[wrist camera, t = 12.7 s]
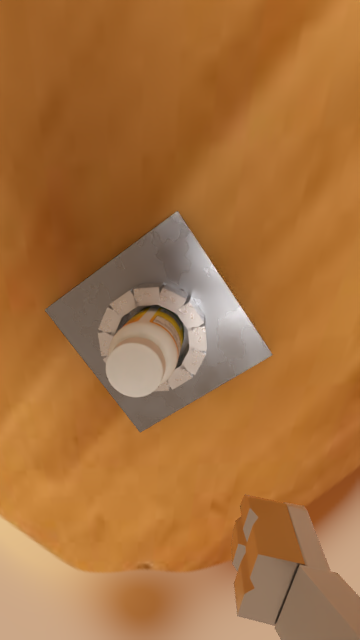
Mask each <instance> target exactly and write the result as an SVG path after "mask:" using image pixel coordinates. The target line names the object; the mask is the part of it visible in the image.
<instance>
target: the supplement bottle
mask: <svg viewBox="0 0 360 640" xmlns="http://www.w3.org/2000/svg"><path fill="white" fill-rule="evenodd" d="M183 339H184V328H183V325H182V322H181V320H180V319H179V317H178V316H177V315H176V314H175V313H174V312H172V311H170V310H168V309H166V308H164V307H162V306H149V307H146V308H144V309H142V310H140V311H139V312H138V313H136V314H135V315H134V316H133V317H132V318H131V319H130V320H129V321H128V322H127V323H126V324H125V325H124V326H123V327H122V328H121V329H120V330H119V331H118V332H117V333H116V334H115V335H114V337H113V339H112V341H111V343H110V346H109V356H108V359H107V361H106V375H107V378H108V380H109V382H110V384H111V385H112V386H113V387H114V388H115V389H116V390H117V391H118V392H120V393H121V394H123V395H126V396H129V397H143V396H146V395H149V394H151V393H152V392H154V391H155V390H156V389H157V388H158V386H159V385H161V384H162V383H164V382H165V381H167V380H168V379H169V378H170V376H171V375H172V374H173V372H174V370H175V368H176V365H177V362H178V358H179V354H180V350H181V347H182V343H183Z"/></svg>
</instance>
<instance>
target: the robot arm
mask: <svg viewBox="0 0 360 640" xmlns="http://www.w3.org/2000/svg"><path fill="white" fill-rule="evenodd" d="M240 510H241V517H240V518H238V519H237V520H236V521H235V525H234V529H233V535H232V564H233V565H234V567H235V568H236V570H237V571H238V573H237V576H236V579H235V582H234V587H235V598H236V608H237V616H239V617H243V618H247V619H251V620H255V621H259V622H263V623H266V624H270V625H274V626H275V629H276V631H277V633H278V635H279V637H280V639H281V640H360V597H359V596H358V595H357V594H356V593H355V592H354V591H353V589H352V588H351V587H350V586H349V585H348V584H347V583H346V582H345V581H344V580H343V579H342V578H341V576H340V575H339V574H338V573H335V572H331V571H330V568H329V566H328V563H327V560H326V558H325V555H324V553H323V550H322V548H321V545H320V543H319V540H318V537H317V535H316V532H315V530H314V527H313V525H312V522H311V519H310V517H309V514H308V512H307V510H306V508H305V507H304V506H301V505H296V504H290V503H285V502H284V503H282V502H279V501H274V500H269V499H264V498H259V497H255V496H250V495H244V497H243V499H242V502H241V505H240Z"/></svg>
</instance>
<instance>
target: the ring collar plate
mask: <svg viewBox="0 0 360 640" xmlns="http://www.w3.org/2000/svg"><path fill="white" fill-rule="evenodd" d="M149 306H162V307H164V308H166V309H168V310H170V311H172V312H174V313H175V314H176V315H177V316H178V317H179V319H180V320H181V322H182V325H183V328H184V339H183V343H182V347H181V350H180V354H179V358H178V362H177V365H176V368H175V370H174V372H173V374H172V375H171V376H170V378H169V379H168V380H167V381H165V382H164V383H162V384H161V385H159V386H158V388H157V389H156V390H155V391H154V392H152V393H151V394H149V395H146V396H143V397H129V396H126V395H123V394H121V393H120V392H118V391H117V390H116V389H115V388H114V387H113V386H112V385H111V384H110V382H109V380H108V378H107V375H106V361H107V359H108V356H109V346H110V343H111V341H112V339H113V337H114V335H115V334H116V333H117V332H118V331H119V330H120V329H121V328H122V327H123V326H124V325H125V324H126V323H127V322H128V321H129V320H130V319H131V318H132V317H133V316H134V315H135V314H136V313H138V312H139V311H140V310H142V309H144V308H146V307H149ZM45 311H46V312H47V314H48V315H49V316H50V317H51V319H52V320H53V321H54V323H55V324H56V325H57V326H58V328H59V329H60V330H61V332H62V333H63V334H64V335H65V337H66V338H67V339H68V340H69V342H70V343H71V344H72V346H73V347H74V348H75V349H76V351H77V352H78V353H79V355H80V356H81V357H82V358H83V360H84V361H85V362H86V364H87V365H88V366H89V367H90V369H91V370H92V371H93V373H94V374H95V375H96V376H97V378H98V379H99V380H100V381H101V383H102V384H103V385H104V387H105V388H106V389H107V390H108V392H109V393H110V394H111V396H112V397H113V398H114V399H115V401H116V402H117V403H118V405H119V406H120V407H121V408H122V410H123V411H124V412H125V413H126V415H127V416H128V417H129V419H130V420H131V421H132V422H133V424H134V425H135V426H136V428H137V429H138V430H139V431H140V432H142V431H143V430H145V429H147V428H149V427H150V426H152V425H154V424H155V423H157V422H159V421H161V420H162V419H164V418H166V417H167V416H169V415H171V414H172V413H174V412H176V411H178V410H179V409H181V408H183V407H184V406H186V405H188V404H190V403H191V402H193V401H195V400H196V399H198V398H200V397H202V396H203V395H205V394H207V393H208V392H210V391H212V390H214V389H215V388H217V387H219V386H220V385H222V384H224V383H225V382H227V381H229V380H231V379H232V378H234V377H236V376H237V375H239V374H241V373H243V372H244V371H246V370H248V369H249V368H251V367H253V366H255V365H256V364H258V363H260V362H261V361H263V360H265V359H267V358H268V357H270V356H272V353H271V351H270V350H269V348H268V347H267V345H266V344H265V342H264V341H263V339H262V338H261V336H260V335H259V333H258V332H257V330H256V329H255V327H254V326H253V324H252V323H251V321H250V320H249V318H248V317H247V315H246V313H245V312H244V310H243V309H242V307H241V306H240V304H239V303H238V301H237V300H236V298H235V297H234V295H233V294H232V292H231V291H230V289H229V288H228V286H227V285H226V283H225V282H224V280H223V279H222V277H221V276H220V274H219V273H218V271H217V270H216V268H215V267H214V265H213V264H212V262H211V261H210V259H209V257H208V256H207V254H206V253H205V251H204V250H203V248H202V247H201V245H200V244H199V242H198V241H197V239H196V238H195V236H194V235H193V233H192V232H191V230H190V229H189V227H188V226H187V224H186V223H185V221H184V220H183V218H182V217H181V215H180V214H179V212H178V211H177V212H175V213H174V214H173V215H171V216H170V217H169V218H167V219H166V220H165V221H163V222H162V223H161V224H159V225H158V226H157V227H155V228H154V229H153V230H151V231H150V232H149V233H147V234H146V235H145V236H143V237H142V238H141V239H139V240H138V241H137V242H135V243H134V244H133V245H131V246H130V247H128V248H127V249H126V250H124V251H123V252H122V253H120V254H119V255H118V256H116V257H115V258H114V259H112V260H111V261H110V262H108V263H107V264H106V265H104V266H103V267H102V268H100V269H99V270H98V271H96V272H95V273H94V274H92V275H91V276H90V277H88V278H87V279H85V280H84V281H83V282H81V283H80V284H79V285H77V286H76V287H75V288H73V289H72V290H71V291H69V292H68V293H67V294H65V295H64V296H63V297H61V298H60V299H59V300H57V301H56V302H55V303H53V304H52V305H51V306H49V307H48V308H47V309H45Z"/></svg>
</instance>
